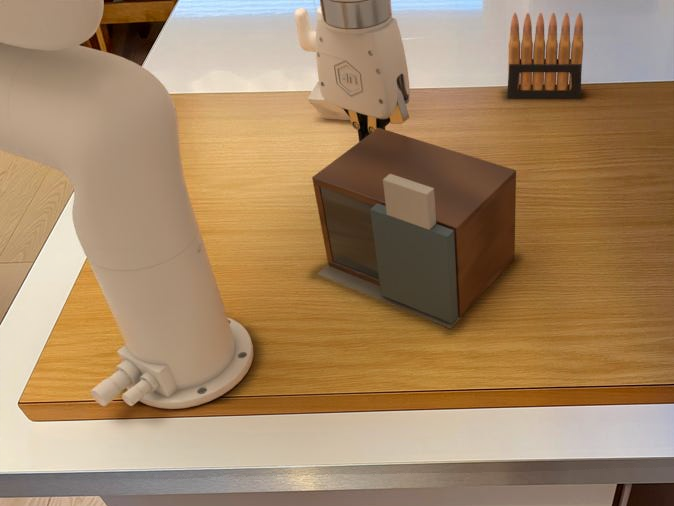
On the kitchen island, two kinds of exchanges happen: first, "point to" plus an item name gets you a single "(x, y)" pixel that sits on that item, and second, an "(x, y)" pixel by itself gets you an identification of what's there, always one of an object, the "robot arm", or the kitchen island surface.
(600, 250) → the kitchen island surface
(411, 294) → the grey sliding door
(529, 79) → the ammunition clip
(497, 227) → the cabinet
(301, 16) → the figurine
